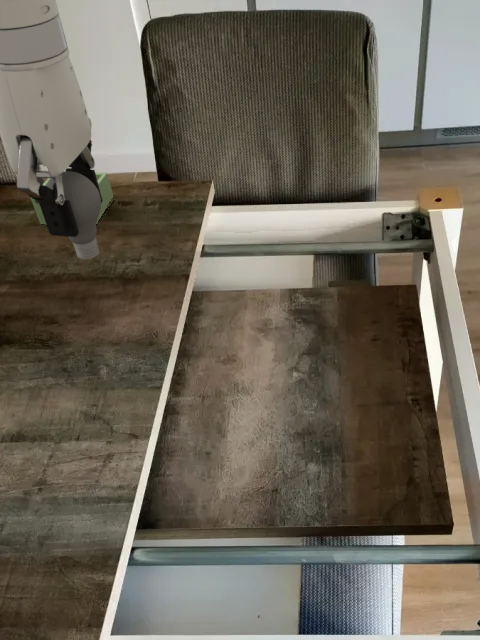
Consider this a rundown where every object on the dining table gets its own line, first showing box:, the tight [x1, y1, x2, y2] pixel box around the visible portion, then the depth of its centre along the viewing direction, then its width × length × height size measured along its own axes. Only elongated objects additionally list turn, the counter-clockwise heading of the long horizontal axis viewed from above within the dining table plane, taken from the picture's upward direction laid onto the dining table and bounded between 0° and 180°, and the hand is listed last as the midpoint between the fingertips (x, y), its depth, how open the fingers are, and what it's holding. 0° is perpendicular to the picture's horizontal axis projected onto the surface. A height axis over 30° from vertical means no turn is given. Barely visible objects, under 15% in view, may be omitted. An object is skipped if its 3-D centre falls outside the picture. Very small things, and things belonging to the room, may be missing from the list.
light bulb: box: [45, 171, 101, 260], centre depth 73 cm, size 6×6×10 cm
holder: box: [30, 171, 114, 225], centre depth 102 cm, size 9×9×5 cm
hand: (77, 217), depth 73 cm, fingers closed on light bulb, 6 cm apart
